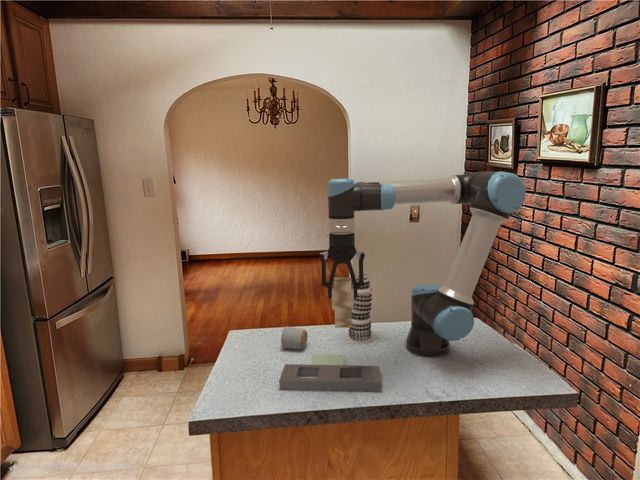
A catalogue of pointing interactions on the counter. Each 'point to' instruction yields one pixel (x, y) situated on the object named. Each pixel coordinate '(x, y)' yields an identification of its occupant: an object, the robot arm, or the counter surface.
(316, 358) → the mat
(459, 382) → the counter surface
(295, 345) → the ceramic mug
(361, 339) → the decorative candle
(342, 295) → the peg
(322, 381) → the grey flat slotted plate
